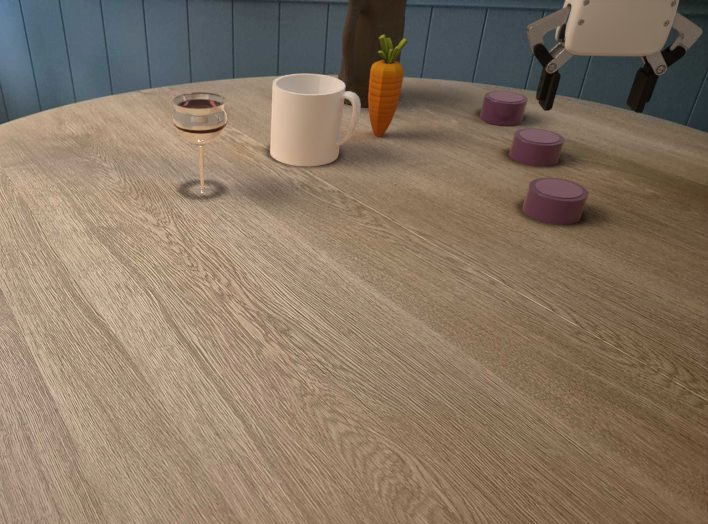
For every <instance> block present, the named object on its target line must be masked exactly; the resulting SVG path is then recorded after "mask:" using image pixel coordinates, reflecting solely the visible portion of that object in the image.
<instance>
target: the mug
mask: <svg viewBox="0 0 708 524" xmlns="http://www.w3.org/2000/svg"><path fill="white" fill-rule="evenodd" d="M271 89H272V90H271V116H270V117H271V120H270V121H271V122H270V145H269V147H270V149H269V153H270V154H269V155H270V156H271V158H273V160H276V161H277V162H280V163H282V164H285V165H291V166H295V167H319V166H325V165H328V164H330V163H333V162H334V161H336V160H337V159H338V157H339V155H340V154H339V153H340V146H341V145H343V144H345V143H346V142H348V141H349V140H350V139H351V138H352V136H353V135H354V133H355V131H356V128H357V126H358V123H359V120H360V115H361V108H362V107H361V103H360V99H359V97H358V96H357V95H356V93H353V92H350V91H345V83H344V82H343V81H341V80H339V79H338V77H334V76H331V75H326V74H320V73H319V74H318V73H292V74H285V75H281V76H278V77H277V78H275V79H273V81H272V88H271ZM344 98H345V99H348V100H349V101H350V102H351V103H352V105H351V108H352V114H351V119H350V122H349V123H350V124H349V126H348V128H347V130H346V132H345V133H344V135H342V134H341V133H342V124H343V114H344V104H345V103H344ZM341 135H342V136H341Z"/></svg>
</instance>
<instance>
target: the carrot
mask: <svg viewBox="0 0 708 524" xmlns="http://www.w3.org/2000/svg"><path fill="white" fill-rule="evenodd" d="M379 40H380V44H381V48H382V51H378V53H379V54H380V56H381V57H382V58H383V60H381V61H377V62H375V63H374V64H373V65H372V67H371V70H370V80H369V94H368V102H369V107H368V116H369V122H370V126H371V129H372V133H373V135H374V137H377V138H381V137H383V136H384V135H385V133H386V132H387V130H388V129H389V127H390V125H391V123H392V121H393V119H394V116H395V114H396V111H397V108H398V104H399V101H400V96H401V91H402V87H403V81H404V76H405V70H404V67H403V65H402V64H401V62H400V63H399V62H396V61H395V59H396V58H397V56H398V55H399V53H400V51H401V52H402V50H403V49H404V47H405V46H406V45H407V43H408V42H409V40H407V39H406V38H403V40H401V42H400V43H399V45H398V46H397V47H396V48H395V49H394V51H393V46H392V42H391V39H390V38H387V39H386V37H385V35H382V36H380V37H379ZM388 49H389V53H388Z"/></svg>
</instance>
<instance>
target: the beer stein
mask: <svg viewBox="0 0 708 524" xmlns="http://www.w3.org/2000/svg"><path fill="white" fill-rule="evenodd" d="M407 2H408V0H348V2H347V11H346V16H345V20H344V24H343V29H342V37H341V64H340V69H339V73H338V75H337V79H339V80H341V81H343V82H344V83H345V91H350V92H353V93H356V95H357V96H358V97H359V99H360V103H361V107H360V108H369V102H368V94H369V80H370V70H371V67H372V65H373V64H374V63H375V62H377V61H381V60H383V58H382V57H381V56H380V54H379V53H378V51H382V48H381V44H380V40H379V37H380V36H382V35H385V37H386V39H387V38H390V39H391V42H392V46H393V51H394V49H395V48H396V47H397V46H398V45H399V43H400V42H401V40H403V39H404V36H405V35H404V34H405V25H406V11H407V10H406V9H407ZM388 53H389V49H388ZM401 56H402V50H401V51H400V53H399V55H398V56H397V58H396V59H395V61H396V62H399V63H400V64H401ZM344 104H346V105H350V106H352V103H351V102H350V101H349V100H348V99H345V98H344Z"/></svg>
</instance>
